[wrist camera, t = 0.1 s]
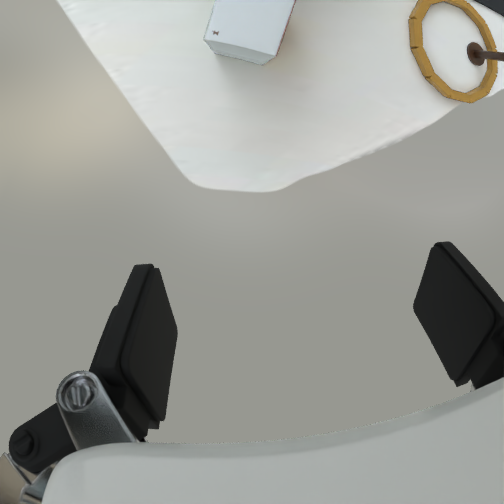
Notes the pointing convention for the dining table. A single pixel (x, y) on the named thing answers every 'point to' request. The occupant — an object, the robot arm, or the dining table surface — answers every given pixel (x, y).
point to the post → (482, 54)
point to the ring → (425, 64)
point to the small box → (248, 28)
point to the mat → (494, 5)
